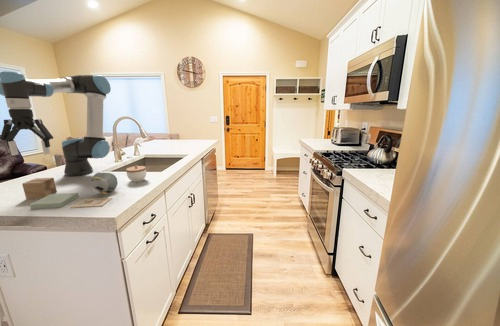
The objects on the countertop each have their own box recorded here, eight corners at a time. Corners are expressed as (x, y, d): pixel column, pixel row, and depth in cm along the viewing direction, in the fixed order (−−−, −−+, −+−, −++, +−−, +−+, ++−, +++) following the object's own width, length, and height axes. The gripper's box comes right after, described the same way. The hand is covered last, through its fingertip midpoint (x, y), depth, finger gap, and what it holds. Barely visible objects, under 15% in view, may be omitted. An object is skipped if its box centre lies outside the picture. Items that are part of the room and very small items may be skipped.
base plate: (51, 197, 105) (50, 194, 104) (78, 196, 106) (77, 192, 106) (30, 208, 93) (29, 204, 93) (61, 207, 95) (60, 202, 94)
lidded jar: (135, 177, 136) (133, 163, 134) (151, 178, 134) (149, 163, 132) (123, 183, 126) (121, 167, 123) (140, 183, 124) (138, 168, 122)
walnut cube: (39, 193, 111) (36, 178, 109) (56, 192, 112) (53, 177, 110) (26, 199, 103) (22, 183, 101) (44, 198, 104) (41, 182, 102)
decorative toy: (97, 182, 118) (73, 189, 98) (107, 167, 118) (85, 170, 98) (116, 193, 120) (97, 202, 100) (126, 178, 120) (109, 183, 100)
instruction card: (83, 199, 103) (82, 198, 102) (112, 198, 104) (112, 197, 104) (70, 208, 94) (70, 206, 94) (102, 206, 96) (102, 205, 95)
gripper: (-21, 108, 92) (-7, 156, 97) (44, 108, 95) (54, 155, 100) (-4, 108, 99) (9, 153, 104) (56, 108, 103) (65, 152, 108)
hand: (31, 154), depth 102 cm, fingers open, 13 cm apart
